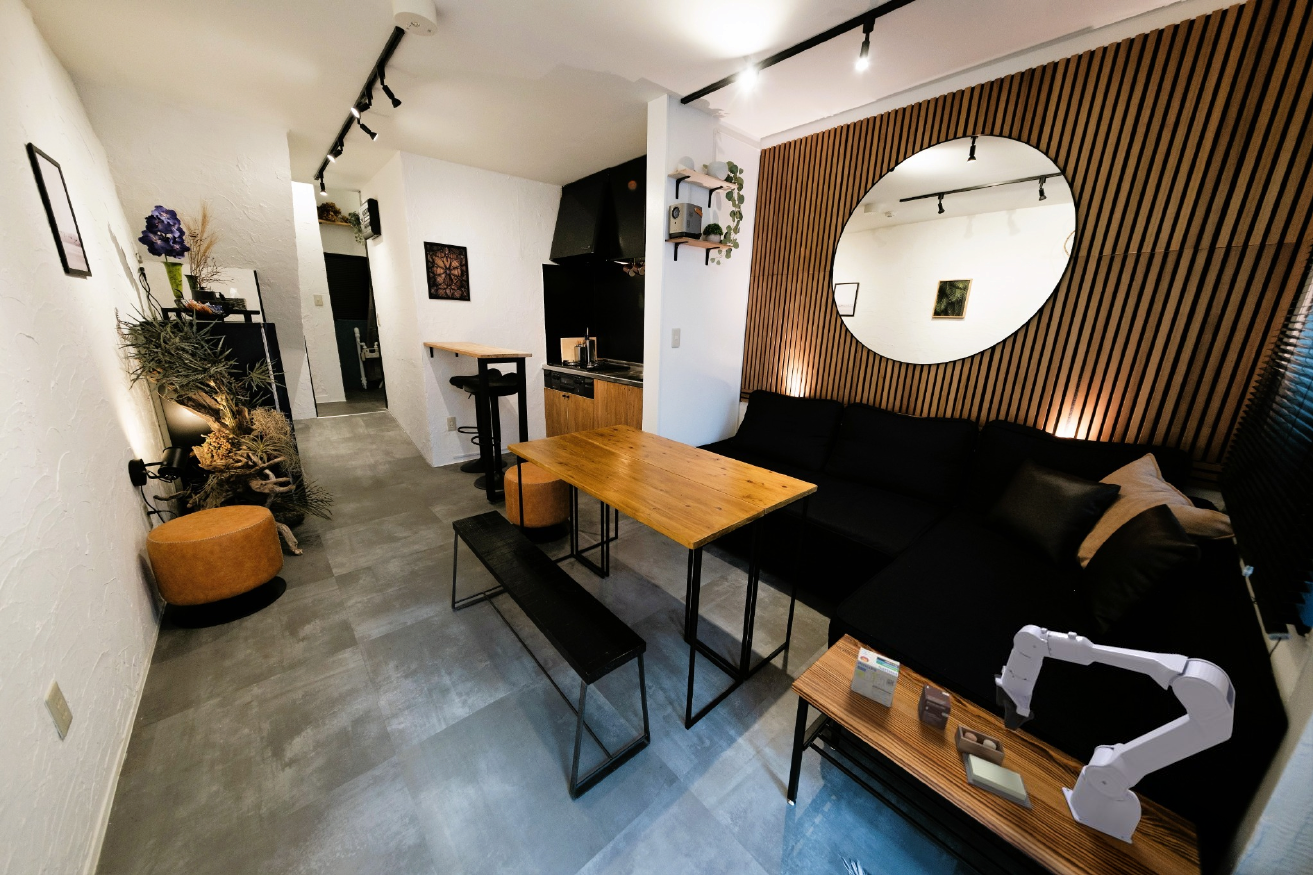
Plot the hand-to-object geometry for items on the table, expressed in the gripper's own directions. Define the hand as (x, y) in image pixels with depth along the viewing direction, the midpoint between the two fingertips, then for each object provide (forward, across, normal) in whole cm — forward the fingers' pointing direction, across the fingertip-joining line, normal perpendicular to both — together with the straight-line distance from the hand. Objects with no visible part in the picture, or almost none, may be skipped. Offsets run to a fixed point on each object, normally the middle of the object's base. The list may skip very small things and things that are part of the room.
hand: (1005, 716), depth 110 cm
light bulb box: (+10, -3, -29) cm, 31 cm away
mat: (+10, +11, -2) cm, 15 cm away
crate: (+10, +4, -4) cm, 12 cm away
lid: (+10, +11, -2) cm, 15 cm away
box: (+10, -2, -14) cm, 17 cm away
